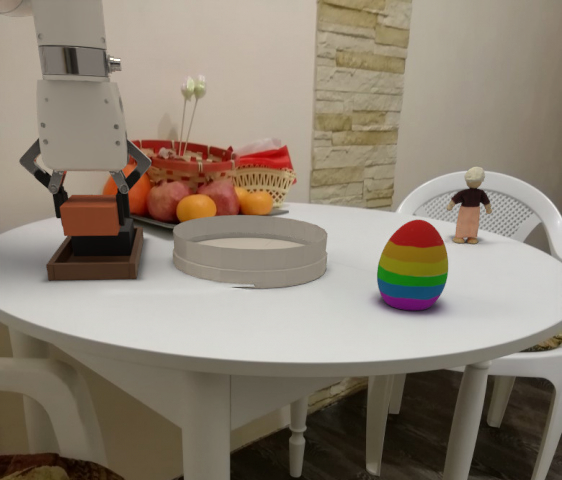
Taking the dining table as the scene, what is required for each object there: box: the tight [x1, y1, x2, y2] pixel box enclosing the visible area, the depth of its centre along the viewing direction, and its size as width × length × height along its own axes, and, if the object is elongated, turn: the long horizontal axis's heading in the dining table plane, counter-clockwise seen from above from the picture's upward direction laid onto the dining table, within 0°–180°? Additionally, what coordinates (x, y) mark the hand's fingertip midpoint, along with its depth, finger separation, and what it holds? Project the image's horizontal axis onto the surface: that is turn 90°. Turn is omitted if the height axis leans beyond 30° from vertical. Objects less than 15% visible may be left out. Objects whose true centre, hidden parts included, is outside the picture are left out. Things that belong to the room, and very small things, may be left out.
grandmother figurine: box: [446, 166, 493, 245], centre depth 95 cm, size 8×4×13 cm, turn 97°
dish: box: [172, 214, 328, 289], centre depth 78 cm, size 22×22×5 cm
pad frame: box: [45, 226, 145, 282], centre depth 78 cm, size 11×22×3 cm, turn 10°
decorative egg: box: [376, 219, 449, 312], centre depth 64 cm, size 8×8×10 cm
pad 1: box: [60, 194, 121, 237], centre depth 71 cm, size 6×9×4 cm
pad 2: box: [71, 218, 135, 256], centre depth 82 cm, size 8×9×4 cm
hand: (94, 222), depth 71 cm, fingers closed on pad 1, 6 cm apart
